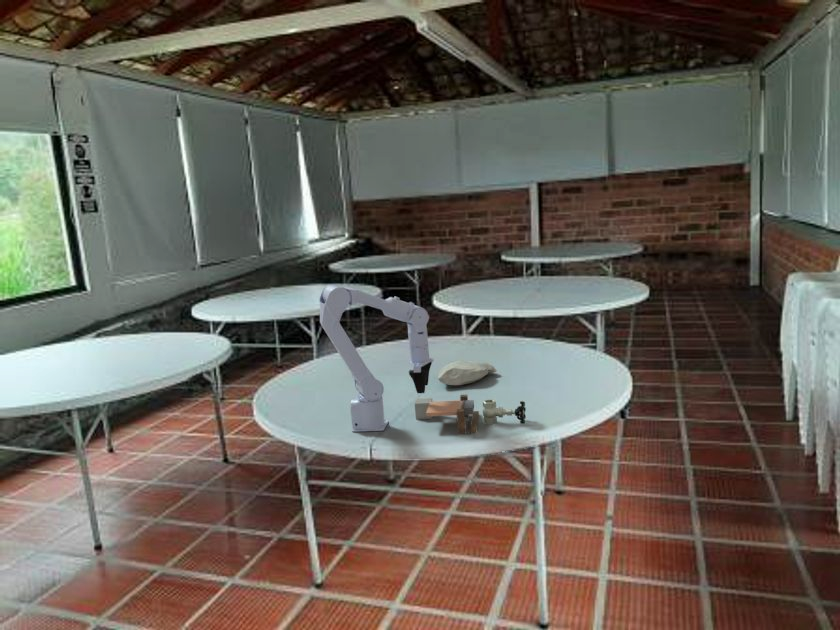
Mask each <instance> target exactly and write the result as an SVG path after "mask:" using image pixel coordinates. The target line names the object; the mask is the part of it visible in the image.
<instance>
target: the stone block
mask: <svg viewBox="0 0 840 630" xmlns="http://www.w3.org/2000/svg"><path fill="white" fill-rule="evenodd" d="M430 402H434V401H433V397H430V398H429V397H424V398H421V397H420V398H416V399H415V402H414V411H415V420H432V419H433V416H426V412H427V409H428V406H429V404H430Z"/></svg>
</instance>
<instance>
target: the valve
mask: <svg viewBox="0 0 840 630" xmlns="http://www.w3.org/2000/svg"><path fill="white" fill-rule="evenodd" d="M519 404H520V406H518V407H517V408H515V410H512V408H509V409H508V408H507V409H506V408H504V407H503V406H499V407H497V402H496V400H495V399H492V398H491V399H489V398H488V399H485V400H483V401H482V415H483V423H484V424H485V425H488V426H489V425H491V426H493V425H496V424H498V419H497V417H498V418H503V417H504V416H505V415H506V416H510V417H511V416H512V415H514V416H516V418H517V420H519V422H520V424H521V425H522V424H526V420H525V419H526V418H527V417H526V409H527V407H526V402H525V401H523V400H522V401H519Z"/></svg>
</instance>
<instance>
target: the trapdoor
mask: <svg viewBox="0 0 840 630" xmlns="http://www.w3.org/2000/svg"><path fill="white" fill-rule="evenodd" d="M457 409H464V413H465V415H469V416H470V415H471V416H472V415H473V411H475V401H474V400H473V399H470V400H466V401H465V400H463V401H460V400H444V401H441V400H440V401H439V400H438V401H433V402H430V404H429V406H428V409H427V412H426V416H432V417H442V416H443V417H444V416H445V417H447V416H450V417H451V416H457Z"/></svg>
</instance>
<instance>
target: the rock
mask: <svg viewBox="0 0 840 630" xmlns="http://www.w3.org/2000/svg"><path fill="white" fill-rule="evenodd" d="M496 372H497V369H496V368H495V366H493V365H492V364H490V363H488V362H483V361H479V362H478V361H469V360H463V359H462V360H457V361H453V362H449V363H447V364H446V365H444V366H443V367H442V368H441V369H440V370H439V371H438V374H437V375H438V377H437V379H438V381H439V382H440V383H442V384H445V385H448V386H463V385H470V384H472V383H474V382H477V381H479V380H481V379H482V378H484V377H485V376H486V375H487V376H488V374H490V373H491V374H492V373H496Z"/></svg>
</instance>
